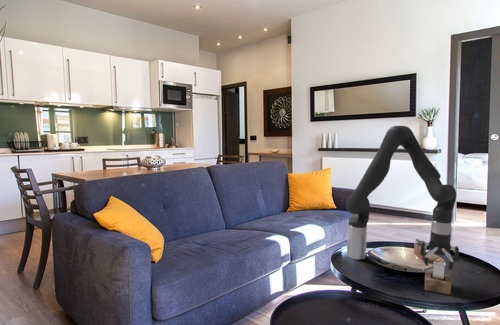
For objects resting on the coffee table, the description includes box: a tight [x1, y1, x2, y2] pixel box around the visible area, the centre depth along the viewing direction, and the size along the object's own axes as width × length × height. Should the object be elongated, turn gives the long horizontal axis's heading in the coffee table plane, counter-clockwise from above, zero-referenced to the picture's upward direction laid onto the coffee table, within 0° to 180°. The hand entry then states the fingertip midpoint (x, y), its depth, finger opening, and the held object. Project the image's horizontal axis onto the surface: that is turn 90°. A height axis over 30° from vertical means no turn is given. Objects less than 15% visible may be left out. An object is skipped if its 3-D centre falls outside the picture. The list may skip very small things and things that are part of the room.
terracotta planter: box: [413, 238, 428, 261], centre depth 171 cm, size 8×3×10 cm, turn 9°
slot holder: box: [424, 270, 452, 296], centre depth 142 cm, size 9×9×5 cm
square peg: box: [432, 260, 445, 281], centre depth 141 cm, size 4×4×10 cm
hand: (438, 267), depth 141 cm, fingers open, 8 cm apart
